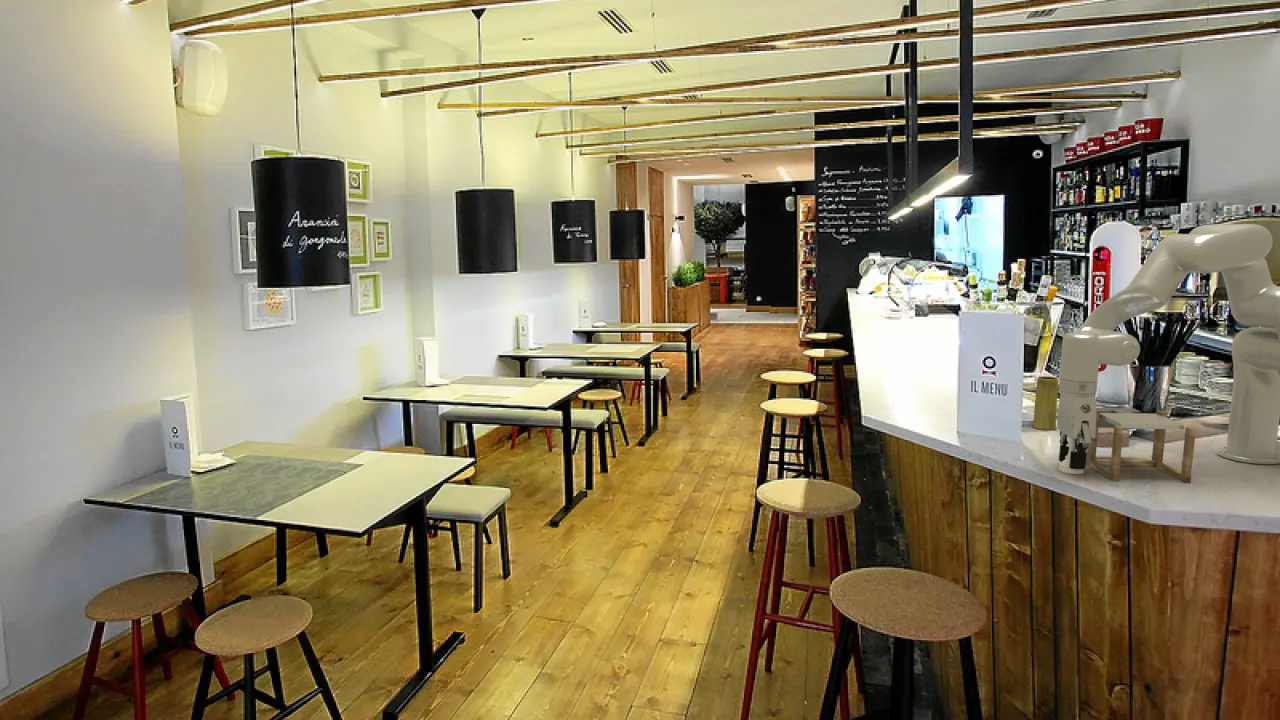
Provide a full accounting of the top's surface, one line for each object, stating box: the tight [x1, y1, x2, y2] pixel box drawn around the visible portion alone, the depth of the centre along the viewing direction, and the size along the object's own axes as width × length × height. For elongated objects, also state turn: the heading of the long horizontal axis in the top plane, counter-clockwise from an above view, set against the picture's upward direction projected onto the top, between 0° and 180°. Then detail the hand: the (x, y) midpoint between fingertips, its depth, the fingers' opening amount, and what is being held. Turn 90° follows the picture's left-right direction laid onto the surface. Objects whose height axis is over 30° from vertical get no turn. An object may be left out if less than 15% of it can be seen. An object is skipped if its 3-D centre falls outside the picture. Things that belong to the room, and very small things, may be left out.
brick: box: [1080, 428, 1131, 449], centre depth 212 cm, size 17×8×5 cm, turn 1°
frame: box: [1086, 410, 1197, 484], centre depth 181 cm, size 16×14×13 cm
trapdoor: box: [1096, 407, 1185, 430], centre depth 185 cm, size 19×13×4 cm
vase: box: [1031, 375, 1059, 431], centre depth 224 cm, size 6×6×14 cm
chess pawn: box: [1058, 436, 1085, 475], centre depth 183 cm, size 5×5×9 cm
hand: (1071, 464), depth 183 cm, fingers closed on chess pawn, 5 cm apart
